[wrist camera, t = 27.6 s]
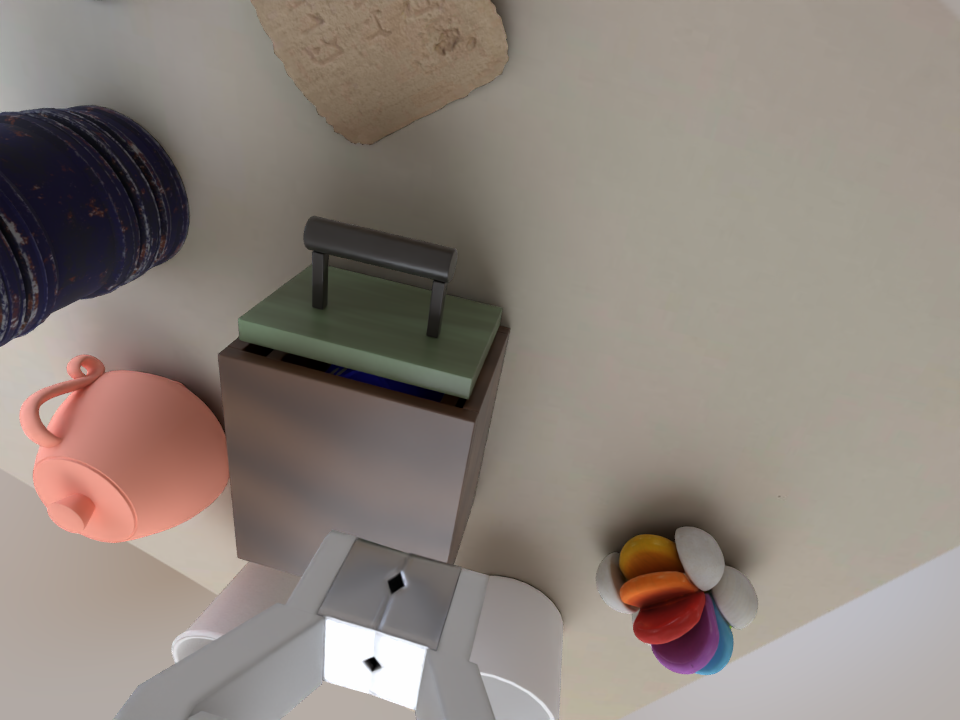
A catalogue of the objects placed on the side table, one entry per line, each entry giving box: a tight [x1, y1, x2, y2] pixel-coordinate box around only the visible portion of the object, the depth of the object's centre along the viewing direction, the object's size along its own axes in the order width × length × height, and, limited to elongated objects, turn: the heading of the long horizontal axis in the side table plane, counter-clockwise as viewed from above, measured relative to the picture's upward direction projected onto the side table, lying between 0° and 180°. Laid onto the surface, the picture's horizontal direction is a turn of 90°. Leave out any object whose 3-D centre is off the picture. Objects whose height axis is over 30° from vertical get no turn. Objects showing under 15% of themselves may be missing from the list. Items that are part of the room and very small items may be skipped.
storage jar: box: [0, 106, 189, 347], centre depth 28 cm, size 10×10×15 cm
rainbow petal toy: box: [596, 527, 758, 675], centre depth 37 cm, size 8×10×7 cm
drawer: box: [238, 216, 503, 408], centre depth 32 cm, size 18×11×8 cm, turn 171°
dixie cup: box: [172, 561, 301, 663], centre depth 45 cm, size 8×8×10 cm
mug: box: [469, 576, 564, 720], centre depth 44 cm, size 13×10×8 cm
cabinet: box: [218, 326, 510, 577], centre depth 34 cm, size 15×13×10 cm
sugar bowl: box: [19, 355, 230, 543], centre depth 39 cm, size 12×14×10 cm
